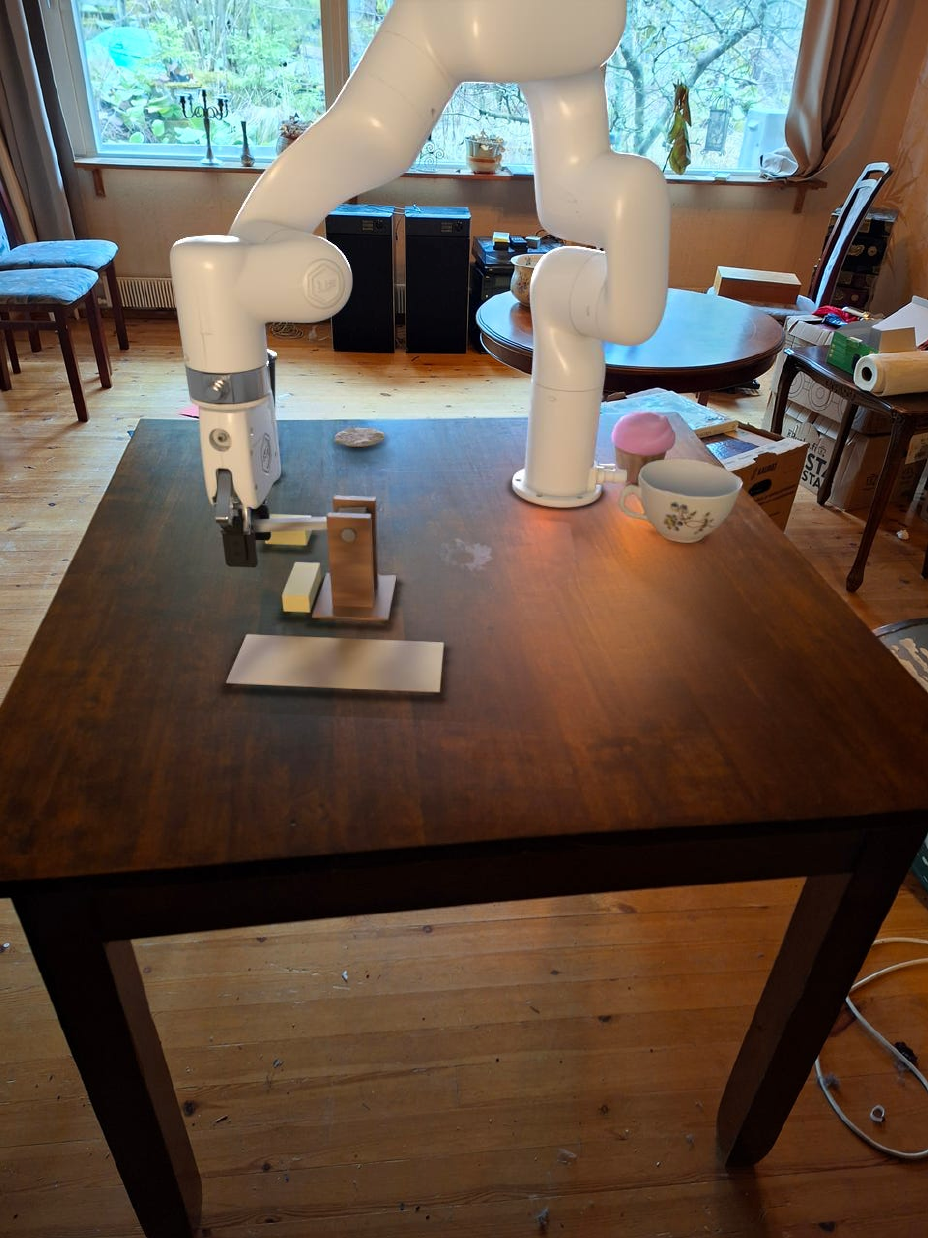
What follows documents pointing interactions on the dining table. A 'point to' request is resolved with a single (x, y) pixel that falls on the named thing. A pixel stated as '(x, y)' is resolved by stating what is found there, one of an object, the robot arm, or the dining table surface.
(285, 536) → the butter pat
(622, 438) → the cupcake
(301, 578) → the butter stick
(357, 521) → the wooden stand
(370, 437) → the flatbread
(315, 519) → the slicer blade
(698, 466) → the teacup
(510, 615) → the dining table surface
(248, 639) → the serving board
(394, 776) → the dining table surface
